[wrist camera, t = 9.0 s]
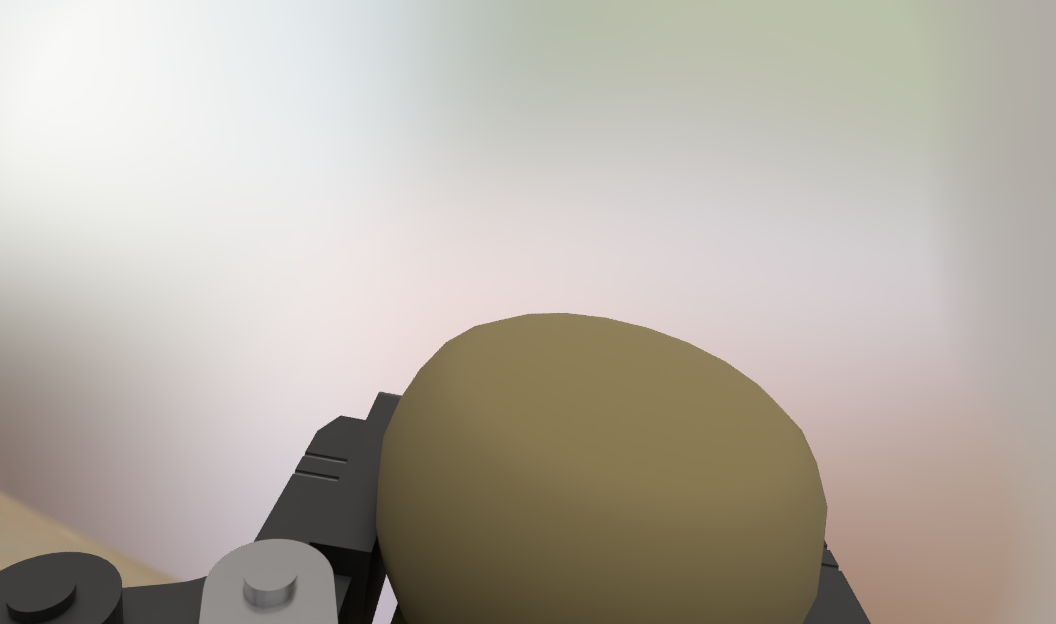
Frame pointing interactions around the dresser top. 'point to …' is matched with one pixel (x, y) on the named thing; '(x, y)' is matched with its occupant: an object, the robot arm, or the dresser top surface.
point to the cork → (594, 484)
